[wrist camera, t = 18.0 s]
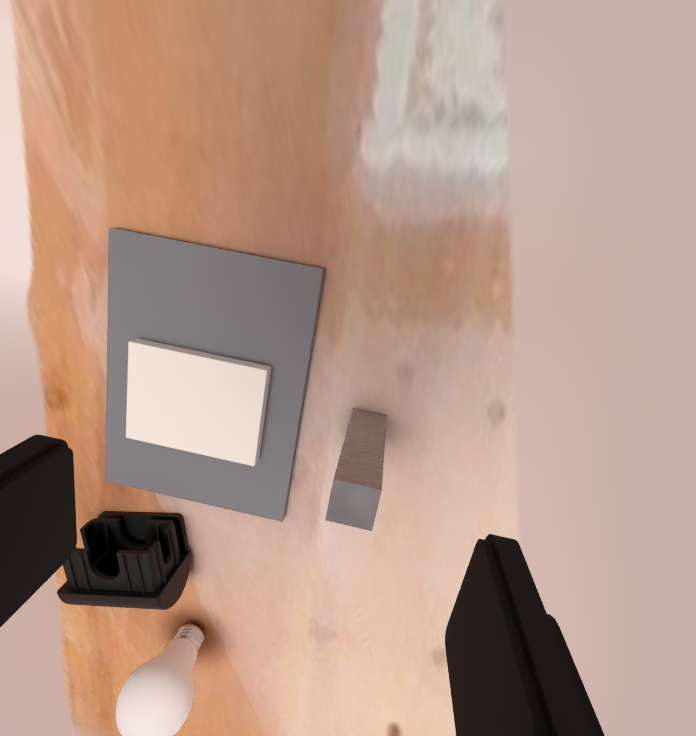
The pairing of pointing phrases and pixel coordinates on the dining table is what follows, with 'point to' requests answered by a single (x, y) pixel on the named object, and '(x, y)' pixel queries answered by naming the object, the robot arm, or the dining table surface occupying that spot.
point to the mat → (215, 336)
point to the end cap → (129, 561)
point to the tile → (196, 401)
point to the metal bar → (359, 472)
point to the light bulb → (161, 688)
